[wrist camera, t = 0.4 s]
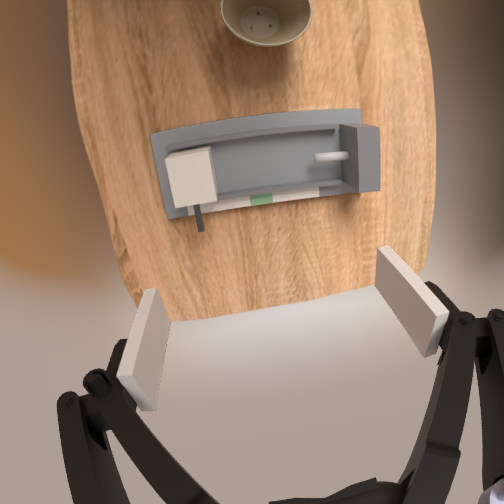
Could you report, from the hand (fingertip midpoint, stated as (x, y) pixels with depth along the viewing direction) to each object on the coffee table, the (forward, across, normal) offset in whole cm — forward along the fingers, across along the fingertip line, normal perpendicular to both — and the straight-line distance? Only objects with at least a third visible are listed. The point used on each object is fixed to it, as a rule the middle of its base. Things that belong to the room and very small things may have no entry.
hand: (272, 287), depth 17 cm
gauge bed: (+26, +3, +2) cm, 26 cm away
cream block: (+25, -6, +1) cm, 25 cm away
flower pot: (+26, +5, +21) cm, 34 cm away
